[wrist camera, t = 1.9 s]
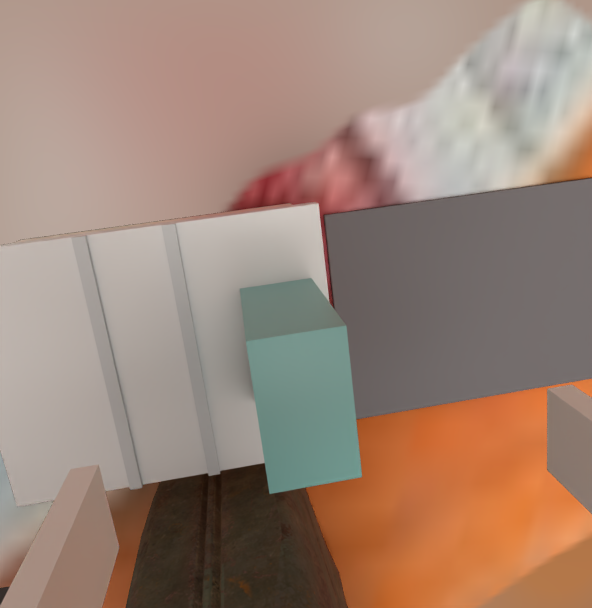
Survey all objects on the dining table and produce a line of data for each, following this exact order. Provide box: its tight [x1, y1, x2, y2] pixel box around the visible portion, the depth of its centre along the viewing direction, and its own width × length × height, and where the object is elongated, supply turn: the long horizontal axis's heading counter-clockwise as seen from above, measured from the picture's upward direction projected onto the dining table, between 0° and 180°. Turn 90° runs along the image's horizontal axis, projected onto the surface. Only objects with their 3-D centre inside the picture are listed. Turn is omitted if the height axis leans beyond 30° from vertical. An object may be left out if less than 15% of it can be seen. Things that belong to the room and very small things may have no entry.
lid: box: [0, 202, 362, 507], centre depth 23 cm, size 17×13×9 cm
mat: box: [324, 178, 592, 419], centre depth 36 cm, size 18×14×1 cm
